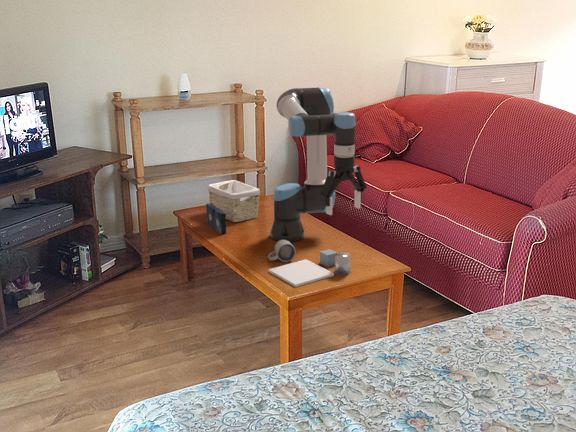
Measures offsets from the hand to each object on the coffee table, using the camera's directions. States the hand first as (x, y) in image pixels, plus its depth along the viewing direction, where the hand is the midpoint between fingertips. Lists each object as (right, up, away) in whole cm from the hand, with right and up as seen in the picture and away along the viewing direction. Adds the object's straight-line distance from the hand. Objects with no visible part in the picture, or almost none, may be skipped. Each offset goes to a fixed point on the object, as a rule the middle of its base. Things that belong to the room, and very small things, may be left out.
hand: (343, 211), depth 253 cm
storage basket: (-47, -2, +77) cm, 91 cm away
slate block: (-5, -21, +16) cm, 27 cm away
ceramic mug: (-23, -20, +21) cm, 37 cm away
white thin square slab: (-16, -24, +6) cm, 29 cm away
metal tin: (0, -24, +8) cm, 25 cm away
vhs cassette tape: (-54, -8, +58) cm, 80 cm away
